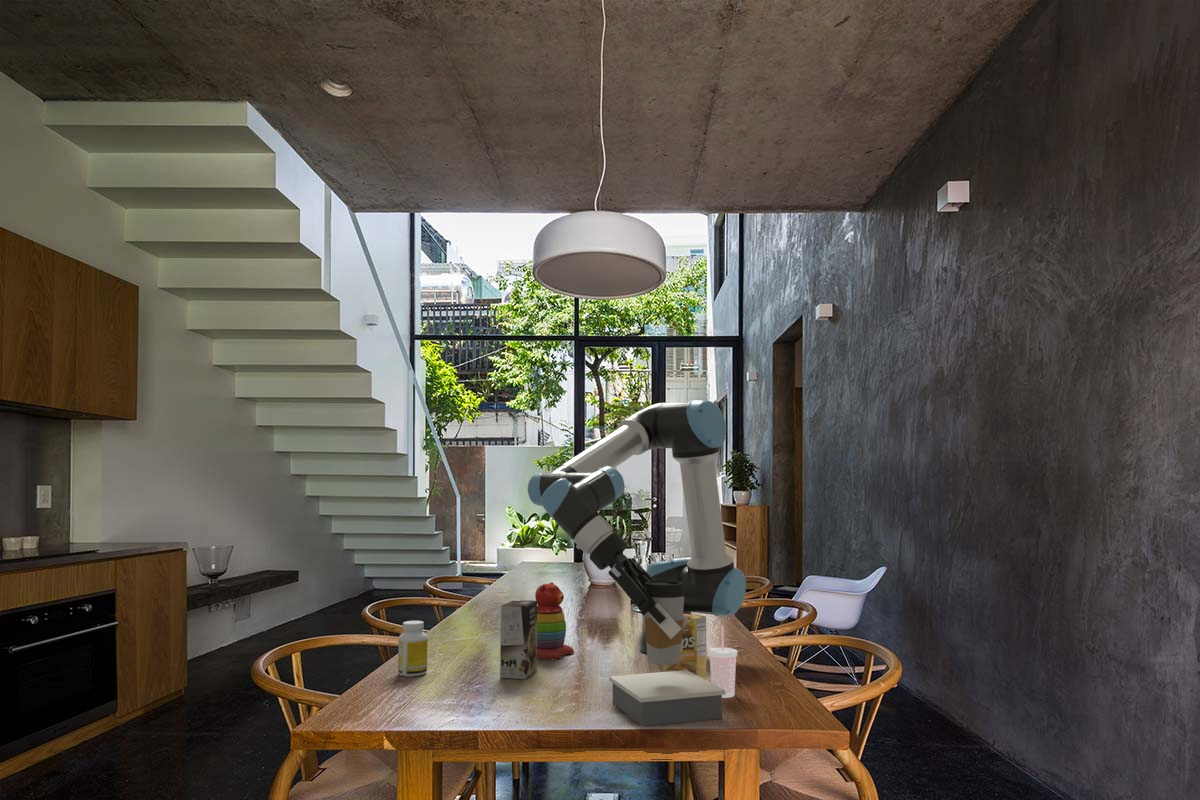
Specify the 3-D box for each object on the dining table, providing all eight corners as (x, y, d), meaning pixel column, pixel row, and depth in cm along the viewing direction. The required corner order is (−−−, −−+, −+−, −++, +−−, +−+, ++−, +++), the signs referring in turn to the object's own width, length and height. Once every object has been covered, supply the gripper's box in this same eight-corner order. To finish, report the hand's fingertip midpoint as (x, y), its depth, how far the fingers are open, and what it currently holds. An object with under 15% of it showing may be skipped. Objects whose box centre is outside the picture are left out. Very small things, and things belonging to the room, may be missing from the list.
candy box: (662, 686, 178) (661, 613, 180) (673, 682, 181) (673, 611, 183) (696, 693, 172) (696, 618, 174) (707, 689, 176) (707, 615, 177)
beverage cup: (719, 700, 167) (718, 629, 168) (702, 693, 172) (701, 624, 174) (744, 696, 170) (743, 626, 171) (726, 689, 175) (725, 622, 176)
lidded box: (687, 695, 170) (686, 670, 170) (725, 718, 154) (725, 690, 154) (609, 703, 165) (609, 676, 165) (640, 727, 149) (640, 697, 149)
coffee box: (526, 679, 184) (527, 605, 185) (499, 678, 185) (499, 605, 186) (537, 670, 192) (538, 599, 194) (511, 669, 194) (512, 599, 195)
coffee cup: (689, 658, 162) (689, 581, 164) (679, 667, 155) (679, 586, 156) (648, 655, 165) (649, 579, 167) (637, 664, 157) (637, 584, 159)
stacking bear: (553, 661, 202) (554, 587, 204) (520, 656, 207) (520, 584, 209) (576, 652, 212) (577, 582, 213) (544, 648, 217) (544, 579, 218)
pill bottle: (432, 674, 189) (433, 622, 190) (408, 679, 184) (409, 625, 185) (416, 669, 193) (417, 618, 194) (392, 674, 189) (393, 622, 190)
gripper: (603, 552, 176) (677, 633, 170) (572, 561, 156) (655, 654, 150) (627, 527, 175) (703, 608, 169) (599, 533, 155) (684, 625, 149)
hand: (680, 629), depth 160 cm, fingers closed on coffee cup, 8 cm apart
